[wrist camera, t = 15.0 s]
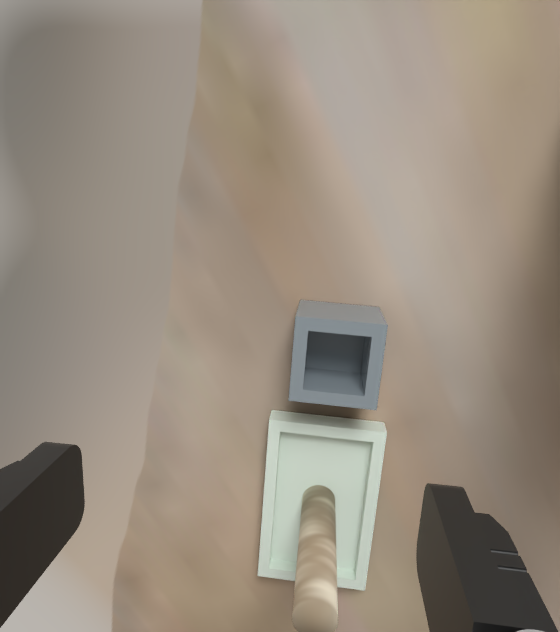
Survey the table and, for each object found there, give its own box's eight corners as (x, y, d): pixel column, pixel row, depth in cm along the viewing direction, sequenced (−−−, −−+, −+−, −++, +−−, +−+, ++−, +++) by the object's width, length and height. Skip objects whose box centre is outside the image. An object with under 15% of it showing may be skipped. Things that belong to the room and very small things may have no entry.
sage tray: (384, 422, 42) (386, 432, 40) (363, 574, 46) (364, 590, 44) (271, 409, 43) (269, 419, 41) (260, 560, 47) (257, 575, 45)
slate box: (379, 307, 40) (387, 324, 34) (369, 381, 42) (376, 410, 36) (300, 299, 40) (295, 316, 35) (294, 373, 42) (288, 400, 36)
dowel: (336, 487, 43) (340, 604, 31) (333, 515, 44) (335, 641, 31) (303, 483, 44) (293, 598, 31) (301, 511, 44) (290, 635, 32)
